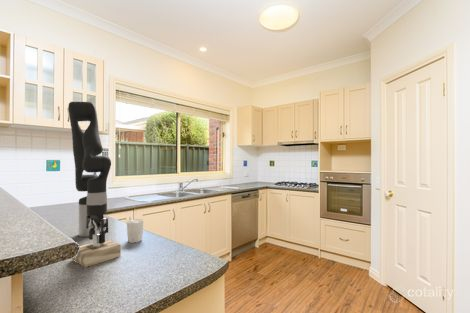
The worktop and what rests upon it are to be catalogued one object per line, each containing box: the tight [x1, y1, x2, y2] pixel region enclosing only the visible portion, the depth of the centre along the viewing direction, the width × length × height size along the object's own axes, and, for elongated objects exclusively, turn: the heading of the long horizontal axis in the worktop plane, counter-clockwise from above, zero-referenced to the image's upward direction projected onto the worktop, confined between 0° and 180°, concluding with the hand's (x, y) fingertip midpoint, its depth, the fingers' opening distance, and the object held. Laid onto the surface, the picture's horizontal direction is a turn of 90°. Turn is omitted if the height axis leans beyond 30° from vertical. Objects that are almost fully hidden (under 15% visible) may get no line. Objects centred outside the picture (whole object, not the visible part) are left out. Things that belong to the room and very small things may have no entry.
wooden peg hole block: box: [71, 238, 122, 268], centre depth 102 cm, size 12×14×5 cm
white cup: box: [126, 218, 144, 244], centre depth 124 cm, size 8×8×10 cm
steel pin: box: [92, 233, 101, 248], centre depth 102 cm, size 3×3×10 cm
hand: (96, 241), depth 102 cm, fingers open, 8 cm apart
